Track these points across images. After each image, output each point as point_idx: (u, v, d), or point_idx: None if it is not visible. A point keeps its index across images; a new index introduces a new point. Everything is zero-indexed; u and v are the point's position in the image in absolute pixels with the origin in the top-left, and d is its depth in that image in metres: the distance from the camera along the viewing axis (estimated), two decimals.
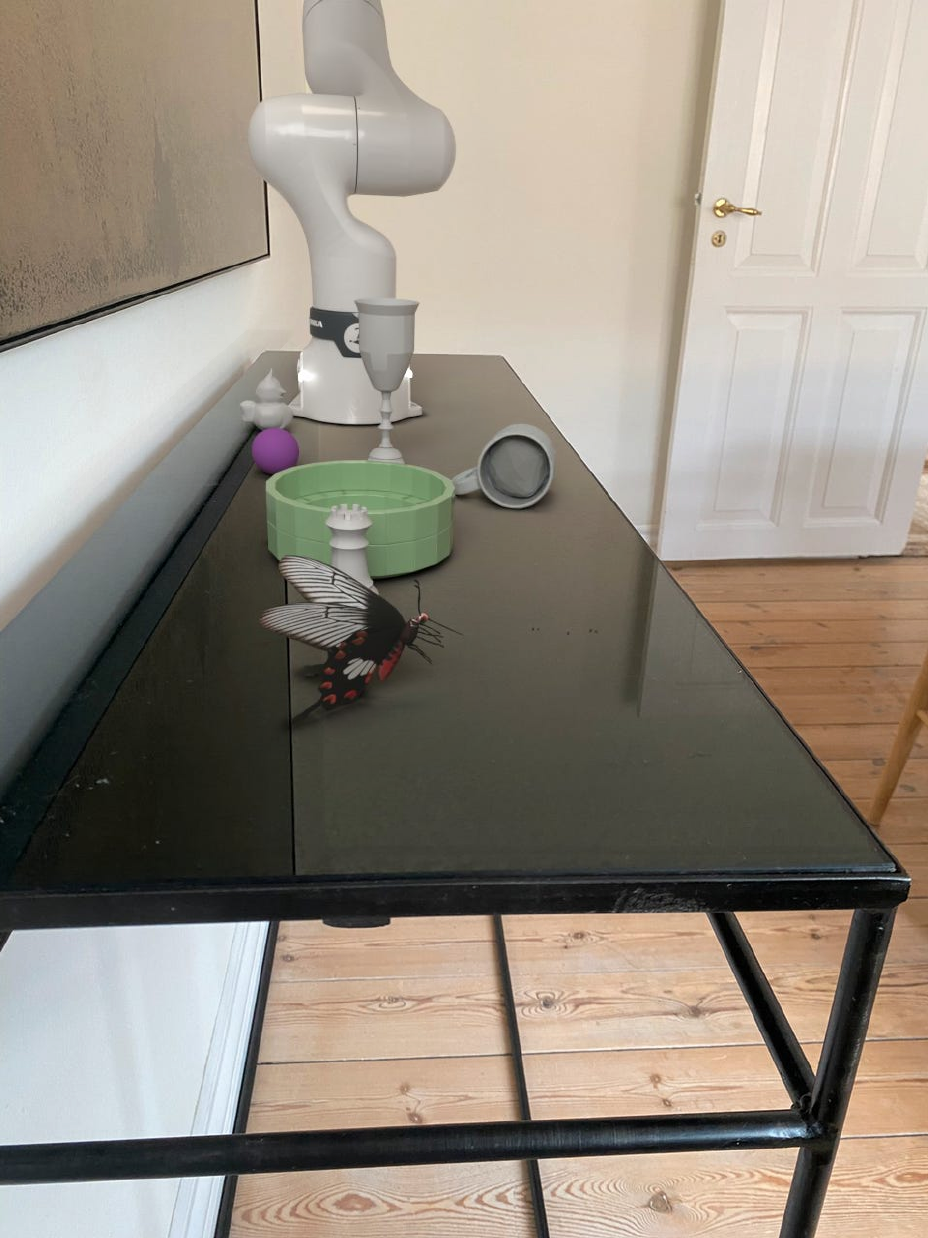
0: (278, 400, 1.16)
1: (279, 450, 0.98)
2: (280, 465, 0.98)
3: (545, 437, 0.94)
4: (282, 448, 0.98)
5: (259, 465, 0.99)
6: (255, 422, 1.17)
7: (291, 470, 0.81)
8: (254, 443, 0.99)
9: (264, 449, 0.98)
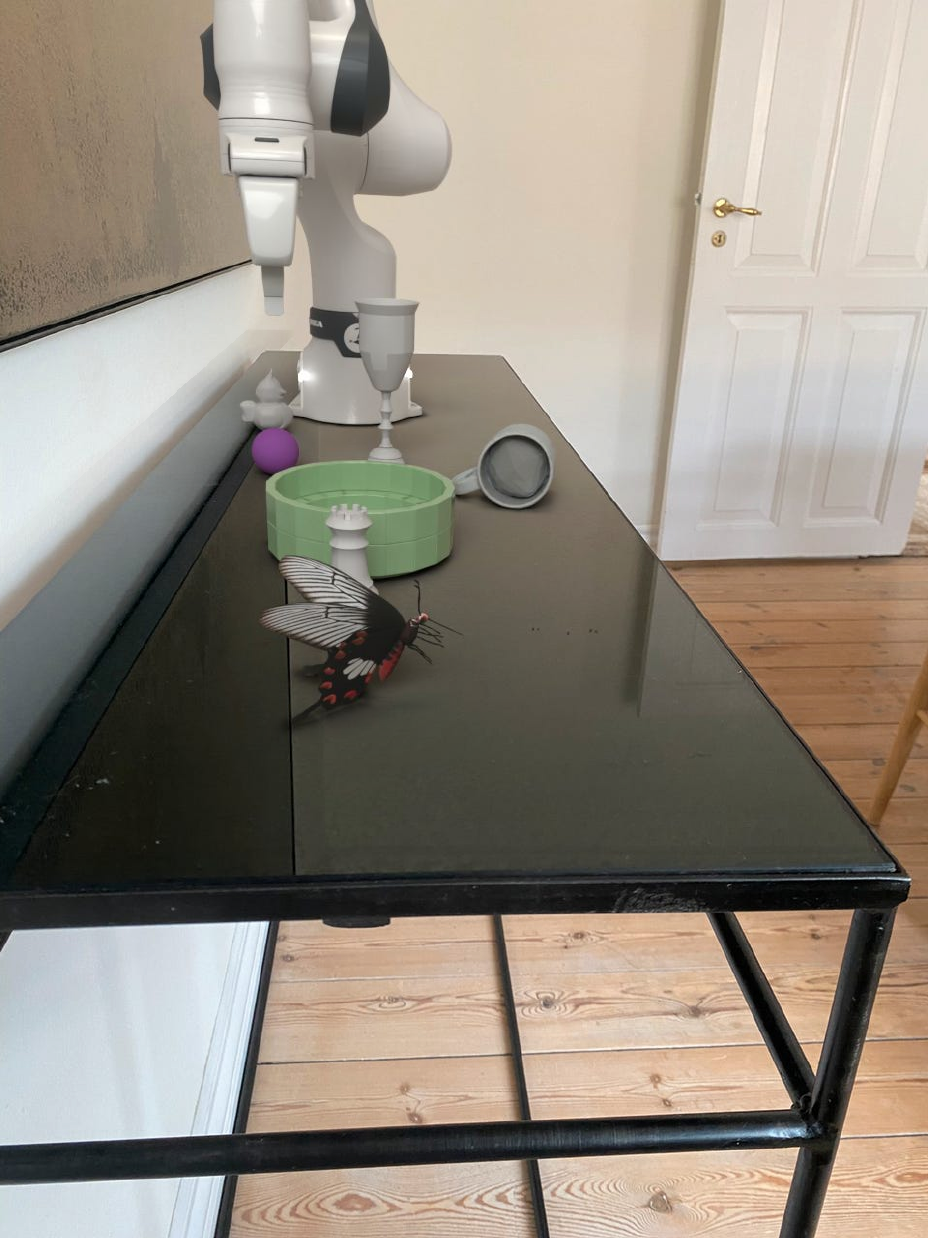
0: (278, 400, 1.16)
1: (279, 450, 0.98)
2: (280, 465, 0.98)
3: (545, 437, 0.94)
4: (282, 448, 0.98)
5: (259, 465, 0.99)
6: (255, 422, 1.17)
7: (291, 470, 0.81)
8: (254, 443, 0.99)
9: (264, 449, 0.98)
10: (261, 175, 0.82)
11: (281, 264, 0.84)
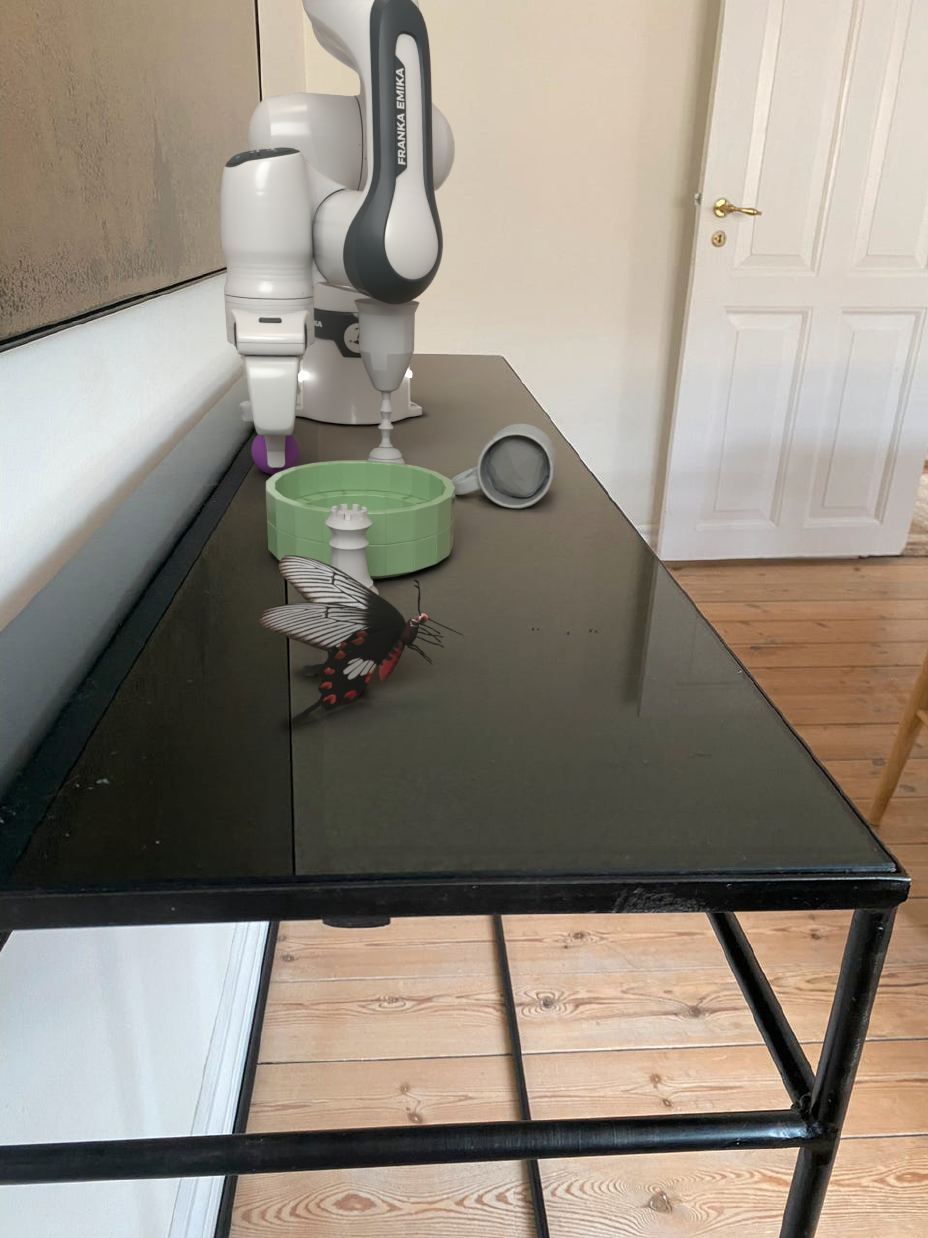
0: None
1: None
2: None
3: (545, 437, 0.94)
4: None
5: (259, 465, 0.99)
6: None
7: (291, 470, 0.81)
8: (254, 443, 0.99)
9: (263, 450, 0.98)
10: (265, 355, 0.88)
11: (283, 434, 0.90)
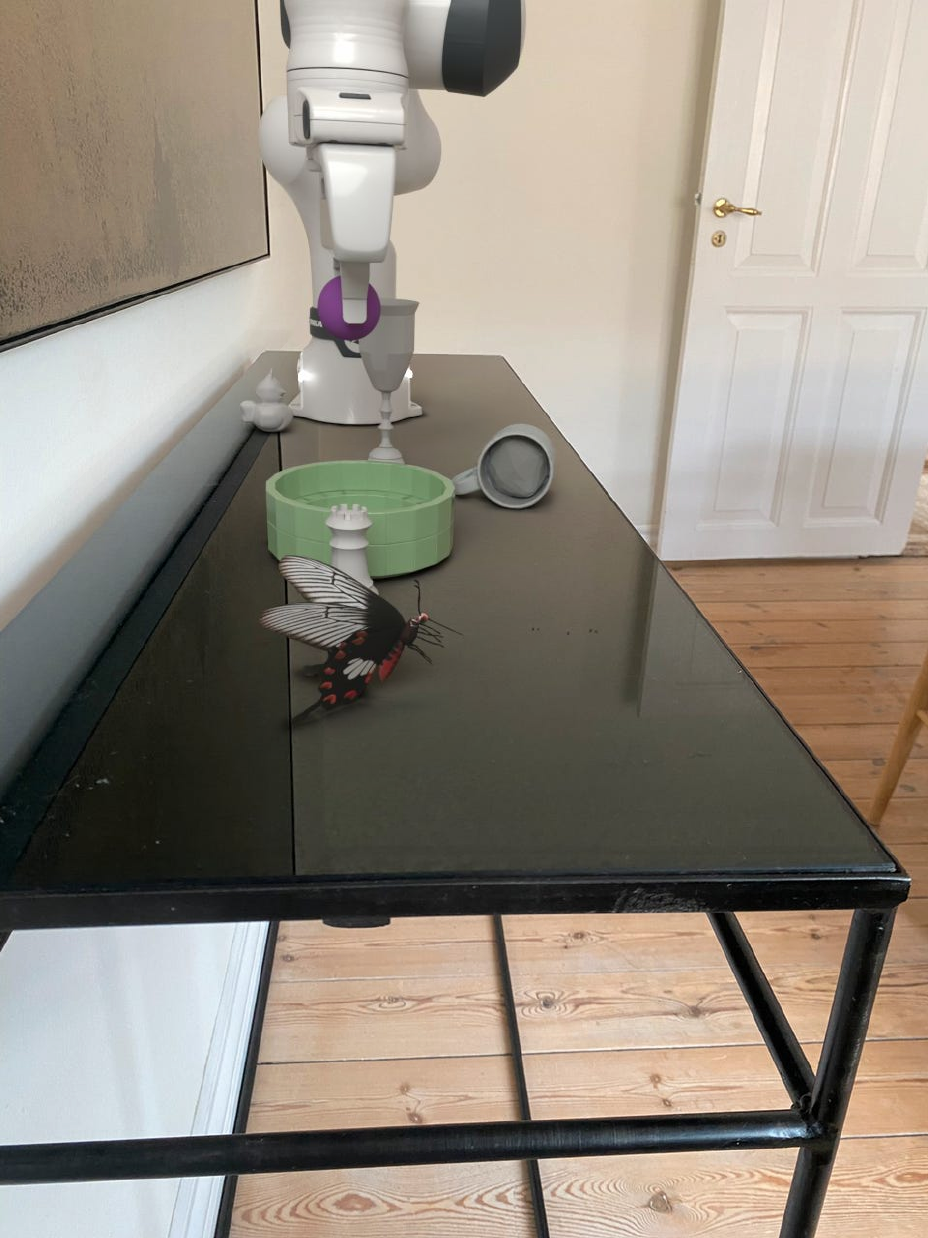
0: (278, 400, 1.16)
1: None
2: (357, 323, 0.72)
3: (545, 437, 0.94)
4: None
5: (328, 325, 0.73)
6: (255, 422, 1.17)
7: (291, 470, 0.81)
8: (321, 294, 0.72)
9: (336, 301, 0.72)
10: (349, 142, 0.62)
11: (373, 260, 0.64)
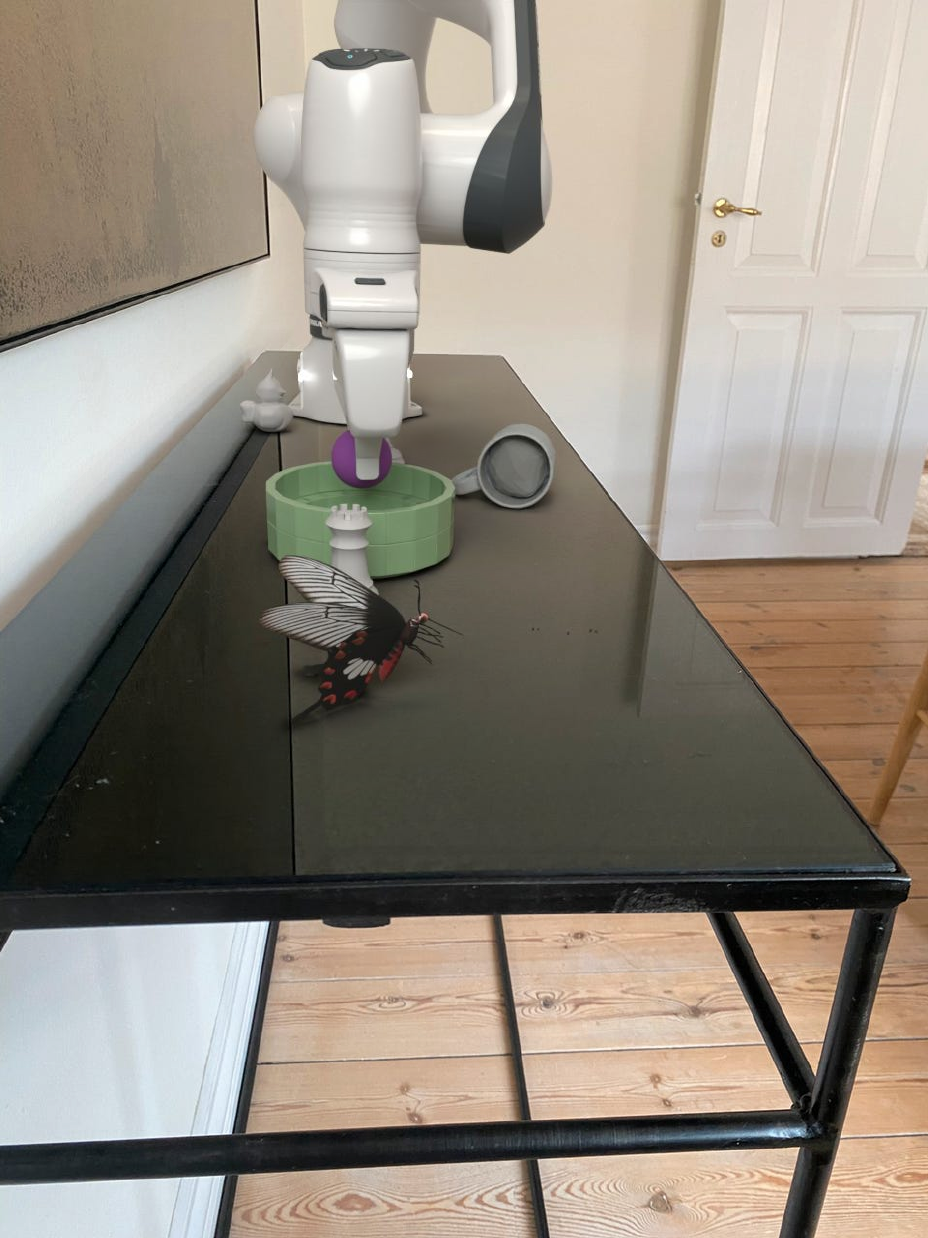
0: (278, 400, 1.16)
1: None
2: None
3: (545, 437, 0.94)
4: None
5: (341, 477, 0.76)
6: (255, 422, 1.17)
7: (291, 470, 0.81)
8: (335, 448, 0.75)
9: (349, 456, 0.74)
10: (364, 328, 0.65)
11: (386, 436, 0.67)
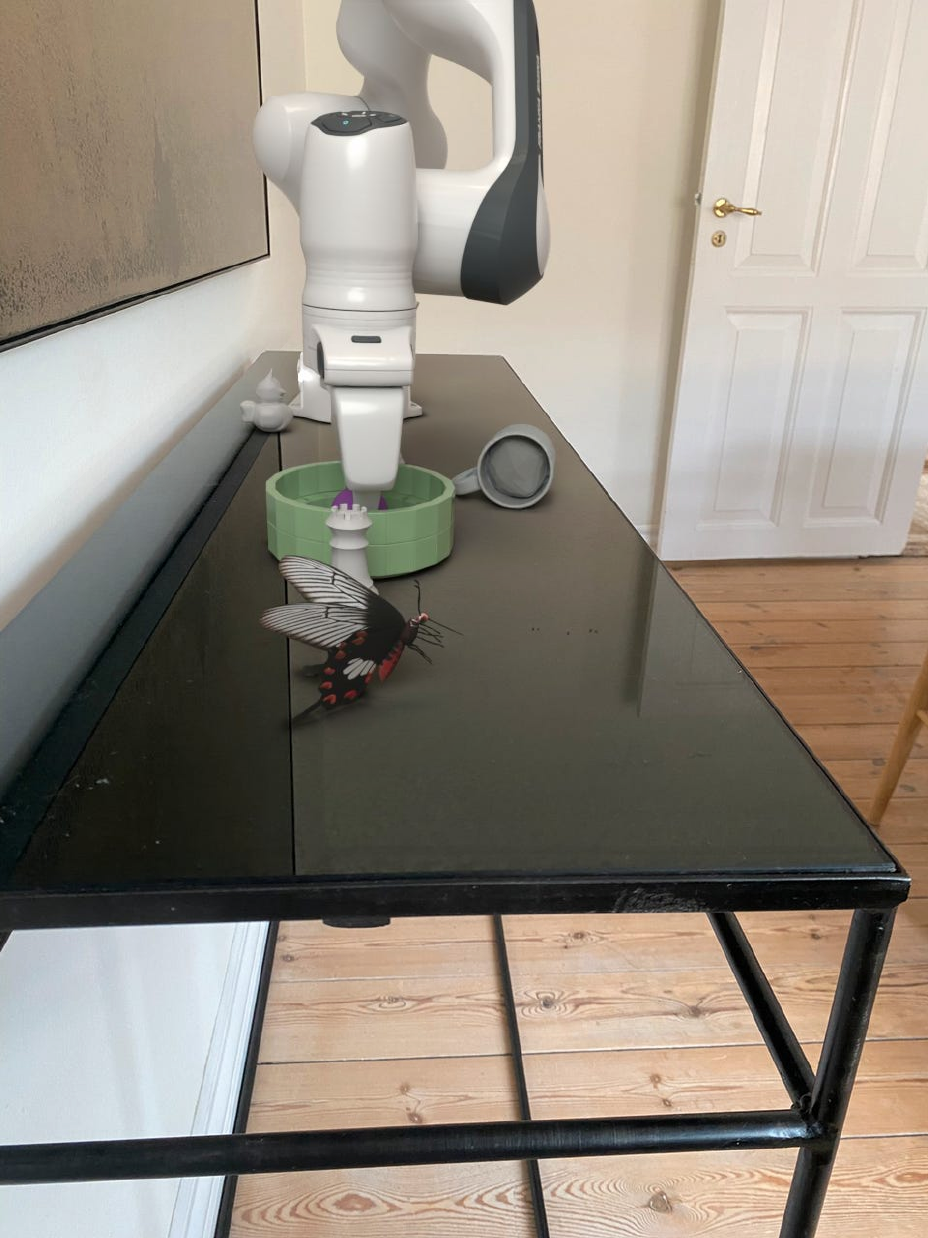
0: (278, 400, 1.16)
1: None
2: None
3: (545, 437, 0.94)
4: None
5: None
6: (255, 422, 1.17)
7: (291, 470, 0.81)
8: None
9: None
10: (360, 386, 0.66)
11: (381, 489, 0.68)
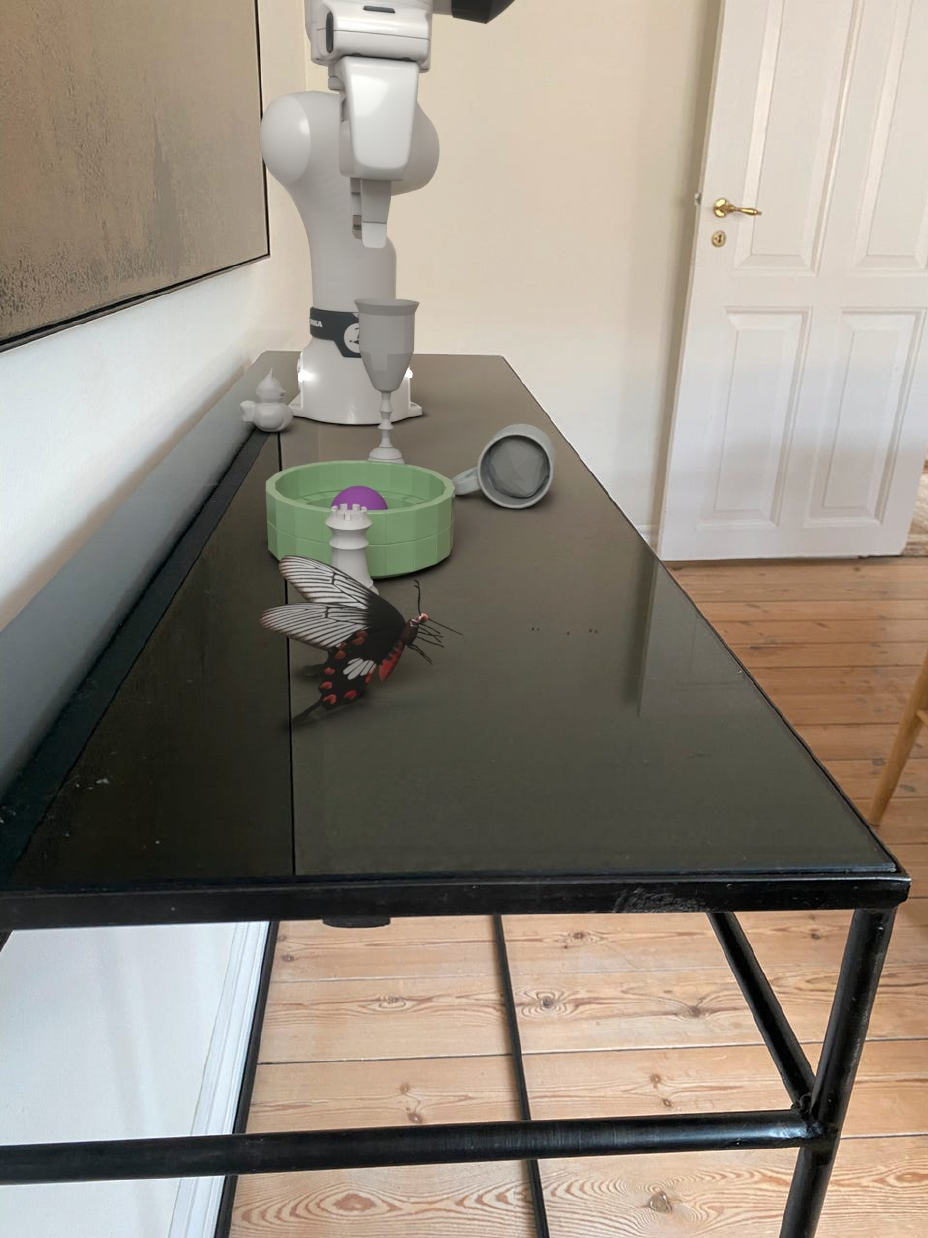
0: (278, 400, 1.16)
1: None
2: None
3: (545, 437, 0.94)
4: None
5: None
6: (255, 422, 1.17)
7: (291, 470, 0.81)
8: None
9: None
10: (372, 56, 0.62)
11: (392, 178, 0.64)
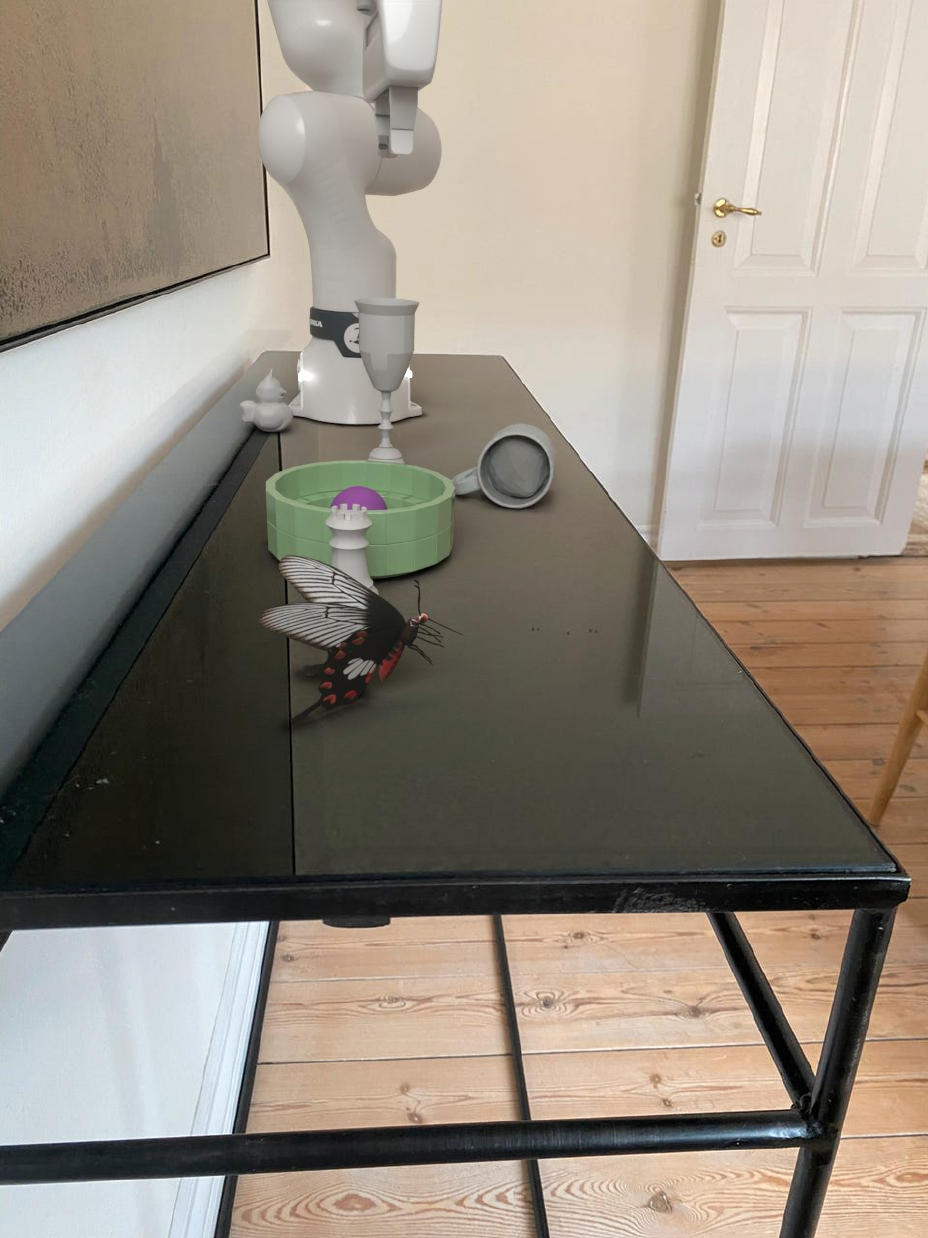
0: (278, 400, 1.16)
1: None
2: None
3: (545, 437, 0.94)
4: None
5: None
6: (255, 422, 1.17)
7: (291, 470, 0.81)
8: None
9: None
10: None
11: (420, 80, 0.69)
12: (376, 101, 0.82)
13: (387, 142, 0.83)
